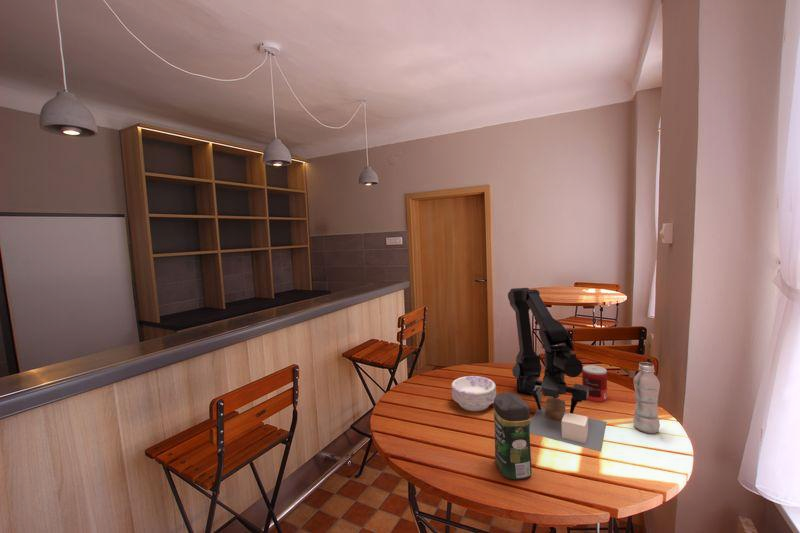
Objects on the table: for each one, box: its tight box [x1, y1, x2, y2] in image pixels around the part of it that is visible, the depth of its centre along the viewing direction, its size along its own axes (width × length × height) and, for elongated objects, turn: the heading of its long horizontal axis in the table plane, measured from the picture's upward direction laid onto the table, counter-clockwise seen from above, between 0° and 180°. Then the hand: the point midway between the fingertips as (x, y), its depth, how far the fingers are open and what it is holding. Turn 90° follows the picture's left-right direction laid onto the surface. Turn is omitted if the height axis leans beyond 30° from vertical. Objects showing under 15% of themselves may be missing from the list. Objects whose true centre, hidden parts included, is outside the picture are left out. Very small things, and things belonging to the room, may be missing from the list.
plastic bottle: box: [632, 362, 661, 435], centre depth 104 cm, size 6×7×20 cm
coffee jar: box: [493, 392, 533, 481], centre depth 89 cm, size 10×8×19 cm
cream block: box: [562, 411, 589, 443], centre depth 102 cm, size 6×6×5 cm
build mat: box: [530, 407, 608, 453], centre depth 108 cm, size 20×18×1 cm
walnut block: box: [544, 396, 566, 422], centre depth 114 cm, size 5×5×5 cm
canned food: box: [581, 364, 608, 403], centre depth 126 cm, size 8×8×11 cm
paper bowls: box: [451, 375, 497, 412], centre depth 125 cm, size 15×15×8 cm
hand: (555, 413), depth 114 cm, fingers open, 9 cm apart
